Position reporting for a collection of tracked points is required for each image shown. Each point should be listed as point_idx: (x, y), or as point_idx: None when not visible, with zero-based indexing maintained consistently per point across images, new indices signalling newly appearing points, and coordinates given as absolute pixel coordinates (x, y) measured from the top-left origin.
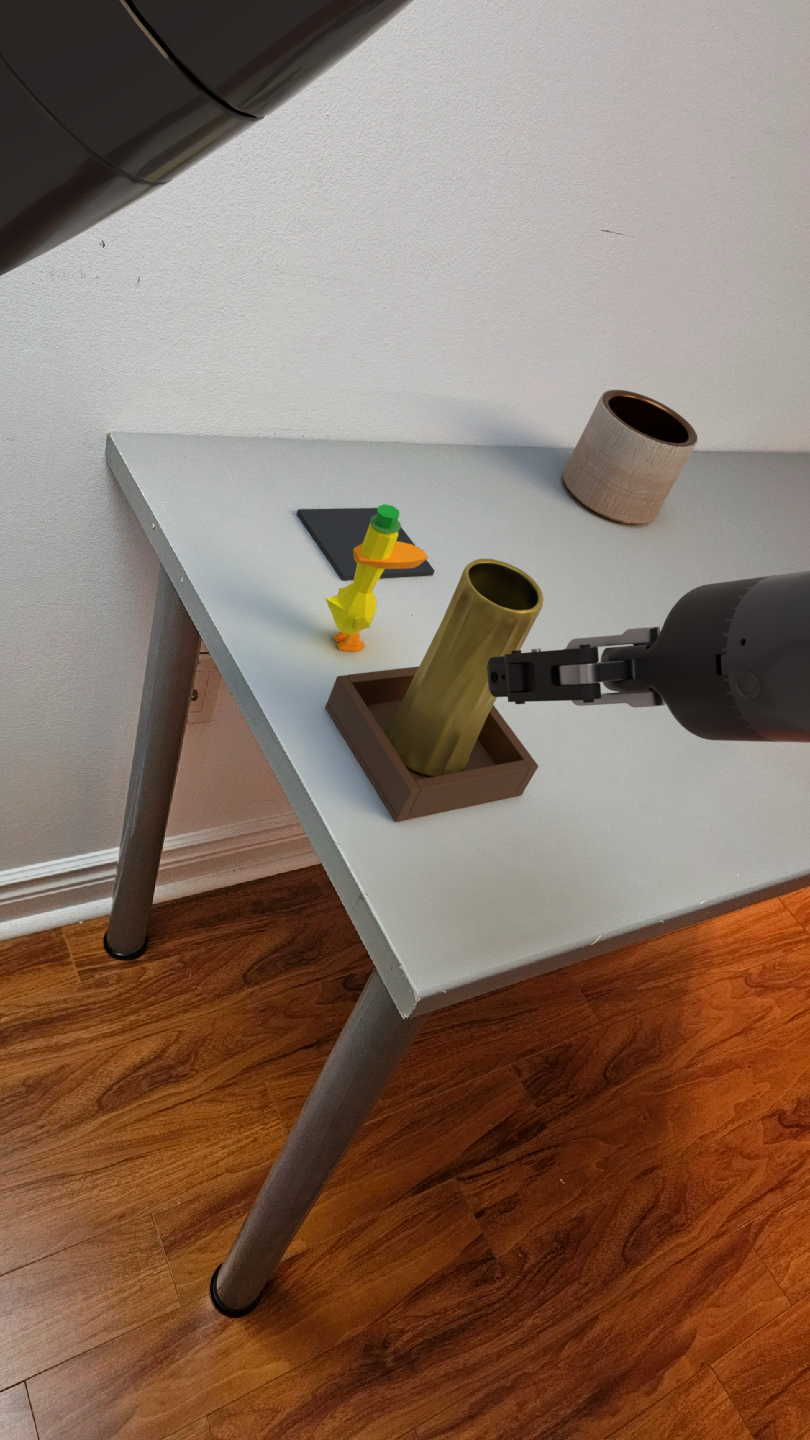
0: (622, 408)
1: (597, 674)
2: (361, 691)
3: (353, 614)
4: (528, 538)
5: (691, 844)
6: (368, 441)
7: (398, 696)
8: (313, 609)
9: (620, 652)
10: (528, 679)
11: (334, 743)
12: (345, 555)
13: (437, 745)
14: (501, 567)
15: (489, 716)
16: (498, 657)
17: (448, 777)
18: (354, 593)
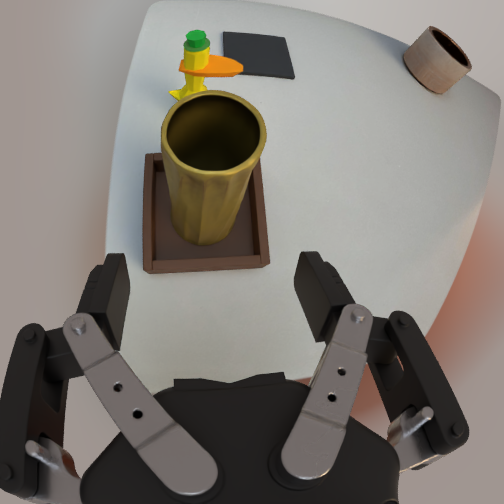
0: (439, 37)
1: (33, 502)
2: None
3: None
4: (371, 75)
5: None
6: (298, 8)
7: None
8: None
9: (82, 499)
10: (45, 374)
11: (139, 198)
12: (235, 59)
13: (185, 231)
14: (237, 101)
15: (255, 205)
16: (104, 264)
17: (181, 262)
18: (186, 90)
